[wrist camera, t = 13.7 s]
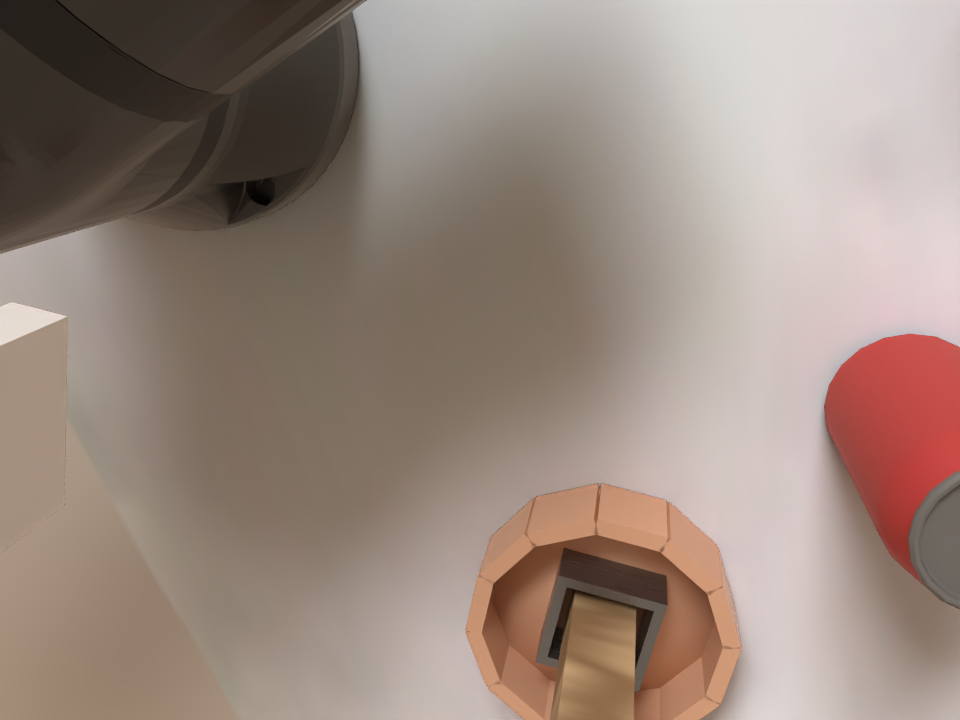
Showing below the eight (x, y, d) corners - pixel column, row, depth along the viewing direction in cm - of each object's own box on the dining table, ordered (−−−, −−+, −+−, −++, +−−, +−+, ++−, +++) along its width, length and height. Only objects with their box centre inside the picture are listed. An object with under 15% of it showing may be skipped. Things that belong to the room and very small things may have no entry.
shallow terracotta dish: (462, 659, 46) (448, 703, 43) (508, 459, 42) (497, 492, 39) (690, 725, 45) (693, 777, 42) (763, 525, 41) (773, 565, 37)
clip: (541, 630, 44) (535, 662, 42) (563, 547, 42) (558, 575, 40) (639, 658, 44) (639, 691, 41) (666, 575, 42) (667, 605, 39)
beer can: (910, 493, 39) (1016, 667, 28) (790, 416, 39) (847, 559, 27) (1017, 383, 36) (1180, 525, 25) (889, 300, 36) (996, 405, 25)
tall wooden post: (565, 619, 44) (529, 854, 31) (577, 571, 43) (546, 793, 30) (622, 635, 43) (611, 879, 30) (636, 587, 42) (631, 819, 29)
